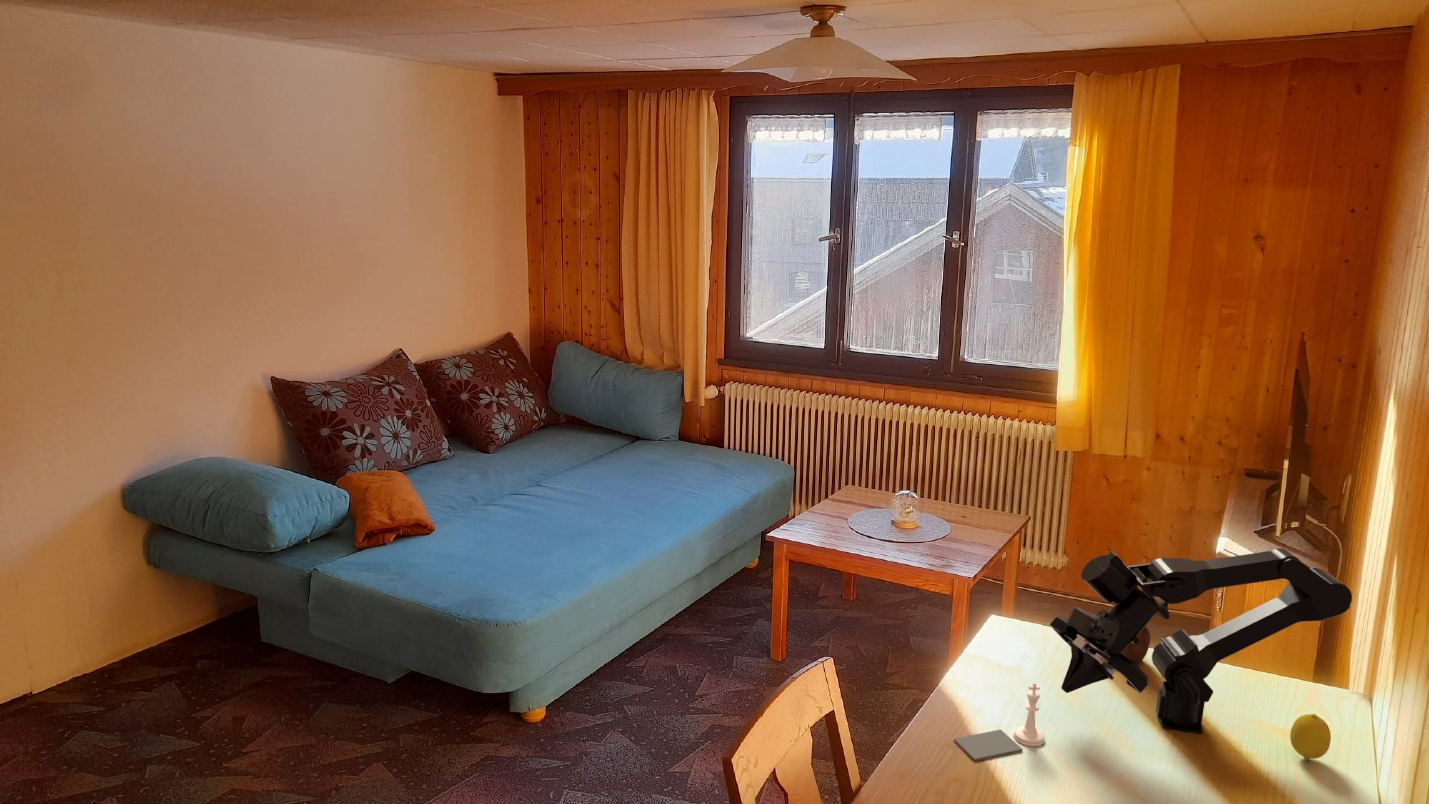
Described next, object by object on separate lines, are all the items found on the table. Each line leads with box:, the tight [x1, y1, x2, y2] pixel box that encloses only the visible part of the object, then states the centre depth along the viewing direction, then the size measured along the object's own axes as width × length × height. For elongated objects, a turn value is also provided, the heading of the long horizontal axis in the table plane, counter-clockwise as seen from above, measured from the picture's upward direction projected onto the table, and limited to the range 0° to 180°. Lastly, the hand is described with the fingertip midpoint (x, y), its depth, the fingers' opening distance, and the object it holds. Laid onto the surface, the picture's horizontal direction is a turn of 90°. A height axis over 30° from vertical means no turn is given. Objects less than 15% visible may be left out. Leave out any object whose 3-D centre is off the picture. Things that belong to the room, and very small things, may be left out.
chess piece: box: [1013, 682, 1046, 747], centre depth 166 cm, size 5×5×10 cm
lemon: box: [1289, 713, 1332, 761], centre depth 161 cm, size 6×6×8 cm
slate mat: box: [953, 729, 1023, 762], centre depth 164 cm, size 9×6×1 cm, turn 109°
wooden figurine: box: [1121, 625, 1152, 664], centre depth 192 cm, size 7×6×15 cm
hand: (1063, 690), depth 167 cm, fingers closed
